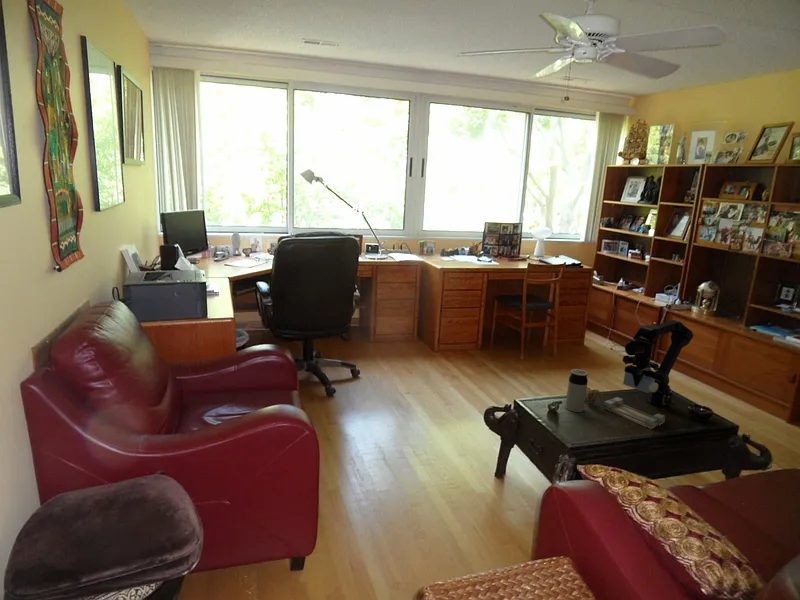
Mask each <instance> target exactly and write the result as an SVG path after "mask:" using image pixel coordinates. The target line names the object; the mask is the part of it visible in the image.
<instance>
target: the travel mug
mask: <svg viewBox="0 0 800 600" xmlns="http://www.w3.org/2000/svg"><path fill="white" fill-rule="evenodd" d="M588 375H589V373H588V371H586V370H584V369H580V368H573V369H571V370H570V375H569V377H568V385H567V392H566V398H565V399H566V400H565V408H566V409H567V410H568V411H570V412H574V413H580V412H581V413H582V412H583V411H584V410H585V403H586V389H587V387H588V382H589V380H588Z"/></svg>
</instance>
